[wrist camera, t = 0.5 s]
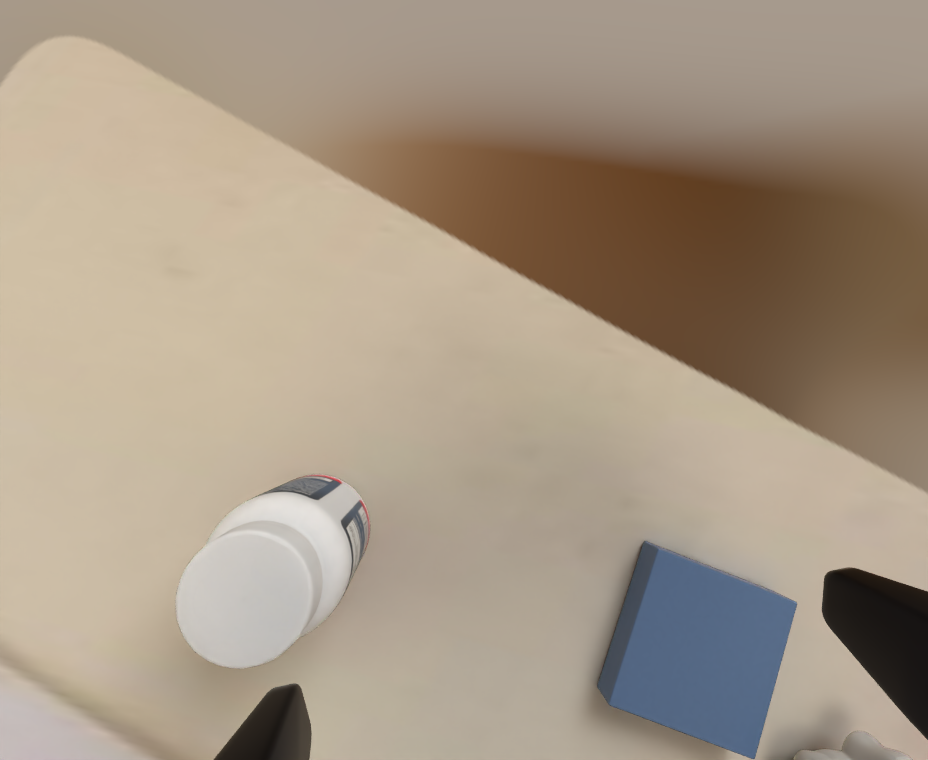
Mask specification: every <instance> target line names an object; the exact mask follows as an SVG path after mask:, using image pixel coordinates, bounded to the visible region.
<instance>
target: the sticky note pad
mask: <svg viewBox="0 0 928 760" xmlns="http://www.w3.org/2000/svg"><path fill="white" fill-rule="evenodd" d="M796 606H797V603H796V602H795V601H793V600H791V599H789V598H787V597H785V596H783V595H780V594H778V593H776V592H774V591H772V590H769V589H767V588H764V587H762V586H759V585H756V584H754V583H751V582H749V581H746V580H744V579H741V578H739V577H736V576H733V575H731V574H728V573H726V572H723V571H721V570H718V569H716V568H713V567H710V566H708V565H705V564H703V563H700V562H698V561H695V560H693V559H690V558H687V557H685V556H682V555H680V554H677V553H675V552H672V551H670V550H667V549H664V548H662V547H659V546H657V545H654V544H652V543H649V542H647V541H644V543H643V546H642V549H641V552H640V555H639V558H638V561H637V564H636V568H635V571H634V574H633V577H632V580H631V583H630V586H629V589H628V592H627V595H626V598H625V602H624V605H623V608H622V611H621V614H620V617H619V620H618V623H617V626H616V629H615V632H614V636H613V639H612V642H611V645H610V648H609V651H608V654H607V657H606V660H605V663H604V666H603V670H602V673H601V676H600V679H599V682H598V685H597V687H598V689H599V690H600V692H601V693H602V695H603V697H604V698H605V700H606V701H607V703H608V704H609V705H610V706H613V707H616V708H618V709H621V710H624V711H626V712H629V713H632V714H634V715H637V716H640V717H642V718H645V719H648V720H650V721H653V722H656V723H658V724H661V725H664V726H666V727H669V728H672V729H674V730H677V731H680V732H682V733H685V734H688V735H690V736H693V737H696V738H698V739H701V740H704V741H706V742H709V743H711V744H714V745H717V746H719V747H722V748H725V749H727V750H730V751H733V752H735V753H738V754H741V755H743V756H746V757H749V758H751V759H755V756H756V752H757V748H758V745H759V741H760V737H761V734H762V730H763V726H764V723H765V719H766V715H767V712H768V708H769V705H770V701H771V697H772V694H773V690H774V686H775V683H776V679H777V675H778V672H779V668H780V665H781V661H782V657H783V654H784V650H785V646H786V643H787V639H788V635H789V632H790V628H791V624H792V621H793V617H794V614H795V610H796Z"/></svg>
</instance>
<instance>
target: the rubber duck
mask: <svg viewBox="0 0 928 760" xmlns="http://www.w3.org/2000/svg"><path fill="white" fill-rule="evenodd" d="M793 760H913V759H912V758H911V757H909V756H908V755H906V754H904V753H902V752H900V751H897V750H894V749H889V748H885V747H884V746H882V745H881V744H880V743H879V742H878V741H877V740H876V739H875V738H874V737H873V736H872V735H870V734H869V733H866V732H863V731H854V732H852V733H850V734H849V735H848V736H847V737H846V739H845V741H844V743H843V746H842V750H841V751H838V750H832V749H818V750H815V751H810V750H800V751H798V752H797V754H796V755H795V757H794V759H793Z"/></svg>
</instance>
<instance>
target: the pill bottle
mask: <svg viewBox="0 0 928 760" xmlns="http://www.w3.org/2000/svg"><path fill="white" fill-rule="evenodd" d="M369 535H370V518H369V513H368V510H367V507H366V505H365V503H364V501H363V499H362V498H361V496H360V495H359V494H358V492H357V491H356V490H355V489H354V488H352V487H351V486H350V485H349V484H347V483H346V482H344V481H342V480H340V479H338V478H336V477H332V476H329V475H320V474H316V475H307V476H303V477H300V478H297V479H294V480H292V481H289V482H287V483H285V484H283V485H281V486H278V487H276V488H274V489H272V490H269V491H267V492H265V493H263V494H260V495H258V496H256V497H254V498H252V499H250V500H248V501H246V502H244V503H242V504H241V505H239V506H237V507H236V508H235V509H233V510H232V511H231V512H229V513H228V514H227V515H226V516H225V517H224V518H223V519H222V520H221V521H220V522H219V524H218V525H217V526H216V527H215V529H214V530H213V532H212V533H211V535H210V537H209V538H208V540H207V542H206V545H205V546H204V547H203V548H202V549H201V550H199V551H198V552H197V553H196V555H195V556H194V557H193V558H192V560H191V561H190V562H189V563H188V565H187V567H186V568H185V570H184V572H183V574H182V576H181V579H180V582H179V585H178V588H177V592H176V616H177V622H178V625H179V628H180V630H181V633H182V635H183V637H184V638H185V640H186V641H187V643H188V644H189V645H190V647H191V648H192V649H193V650H194V651H195V653H198V654H199V655H200V656H201V657H203V658H204V659H205V660H207V661H209V662H211V663H214V664H216V665H219V666H223V667H227V668H237V669H241V668H249V667H255V666H259V665H262V664H265V663H267V662H269V661H271V660H273V659H275V658H277V657H278V656H280V655H281V654H282V653H284V652H285V651H286V650H287V649H289V648H290V647H291V646H292V645H293V644H294V643H295V641H296V640H297V639H298V638H300V637H302V636H304V635H306V634H308V633H309V632H311V631H312V630H314V629H315V628H317V627H318V626H319V625H320V624H322V623H323V622H324V621H325V620H326V619H327V618H328V617H329V615H330V614H331V613H332V612H333V611H334V609H335V608H336V606H337V605H338V604H339V602H340V600H341V599H342V597H343V595H344V593H345V591H346V589H347V587H348V585H349V583H350V581H351V579H352V577H353V575H354V573H355V571H356V569H357V566H358V564H359V562H360V561H361V558H362V556H363V554H364V552H365V550H366V547H367V544H368V540H369Z"/></svg>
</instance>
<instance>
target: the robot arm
mask: <svg viewBox="0 0 928 760" xmlns="http://www.w3.org/2000/svg"><path fill="white" fill-rule="evenodd" d="M822 613H823V617H824V619H825V621H826V623H827V625H828V626H829V627H830V629H831V630H832V631H833V632H834V633H835V634H836V636H837V637H838V638H839V639H840V640H841V642H842V643H843V644H844V645H845V646H846V647H847V649H848V650H849V651H850V652H851V653H852V654H853V656H854V657H855V658H856V659H857V660H858V661H859V663H860V664H861V665H862V666H863V667H864V668H865V670H866V671H867V672H868V673H869V674H870V675H871V677H872V678H873V679H874V680H875V681H876V682H877V684H878V685H879V686H880V687H881V688H882V689H883V691H884V692H885V693H886V694H887V695H888V696H889V698H890V699H891V700H892V701H893V702H894V704H895V705H896V706H897V707H898V708H899V709H900V710H901V711H902V713H903V714H904V715H905V716H906V717H907V718H908V719H909V721H910V722H911V723H912V724H913V725H914V726H915V727H916V728H917V729H918V730H919V731H920V732H921V733H922V734H923V735H924V736H925V738H926V739H927V740H928V592H927V591H924V590H921V589H918V588H915V587H912V586H909V585H906V584H903V583H899V582H896V581H893V580H890V579H887V578H884V577H881V576H878V575H875V574H872V573H869V572H866V571H863V570H859V569H856V568H842V569H838V570H833V571H830V572H828V573H827V574H826V575H825V578H824V588H823V601H822ZM310 748H311V724H310V719H309V716H308V712H307V708H306V704H305V700H304V697H303V693H302V690H301V687H300V686H299V685H298V684H289V685H285V686H280V687H275V688H273V689H271V690H270V691H269V692H268V693H267V694H266V695H265V696H264V698H263V699H262V700H261V701H260V703H259V704H258V705H257V706H256V708H255V709H254V710H253V711H252V713H251V714H250V715H249V716H248V718H247V719H246V720H245V721H244V723H243V724H242V725H241V726H240V728H239V729H238V730H237V731H236V732H235V734H234V735H233V736H232V737H231V739H230V740H229V741H228V742H227V744H226V745H225V746H224V747H223V749H222V750H221V751H220V752H219V754H218V755H217V756H216V757H215V759H214V760H309V757H310Z"/></svg>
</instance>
